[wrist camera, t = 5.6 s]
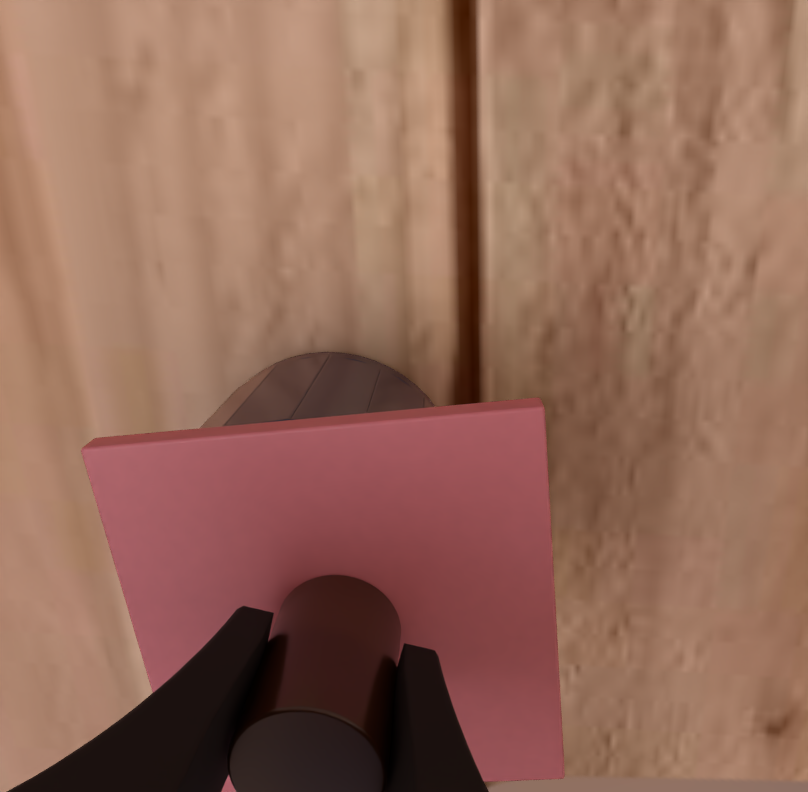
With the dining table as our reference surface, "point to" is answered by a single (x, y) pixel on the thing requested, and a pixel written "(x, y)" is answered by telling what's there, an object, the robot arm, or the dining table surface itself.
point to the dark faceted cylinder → (318, 391)
